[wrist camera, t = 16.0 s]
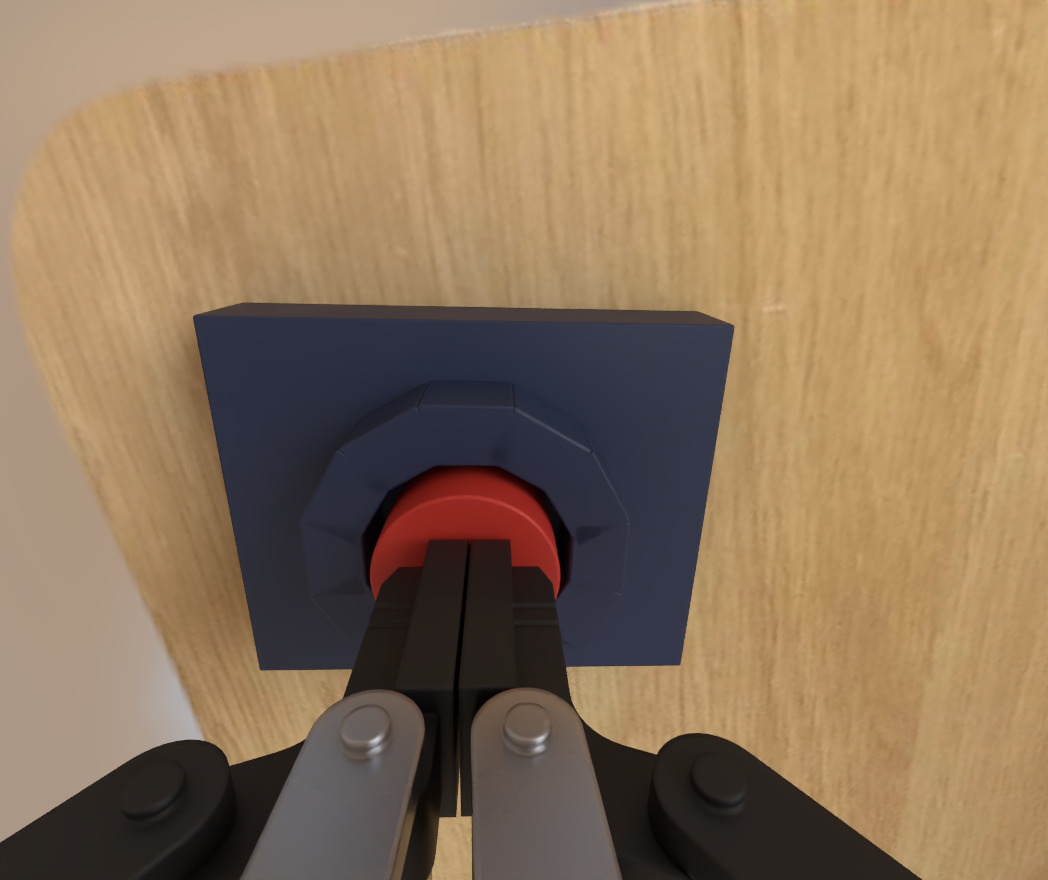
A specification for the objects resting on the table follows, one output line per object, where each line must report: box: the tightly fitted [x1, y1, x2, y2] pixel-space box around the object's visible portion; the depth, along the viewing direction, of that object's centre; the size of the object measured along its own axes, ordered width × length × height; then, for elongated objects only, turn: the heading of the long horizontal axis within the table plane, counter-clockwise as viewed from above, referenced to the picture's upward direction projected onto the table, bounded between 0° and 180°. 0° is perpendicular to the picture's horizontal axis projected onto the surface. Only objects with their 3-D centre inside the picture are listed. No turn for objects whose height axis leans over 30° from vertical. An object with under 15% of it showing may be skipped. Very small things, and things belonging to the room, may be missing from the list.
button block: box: [193, 303, 734, 670], centre depth 13 cm, size 11×9×4 cm
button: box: [370, 466, 560, 601], centre depth 11 cm, size 4×4×2 cm
